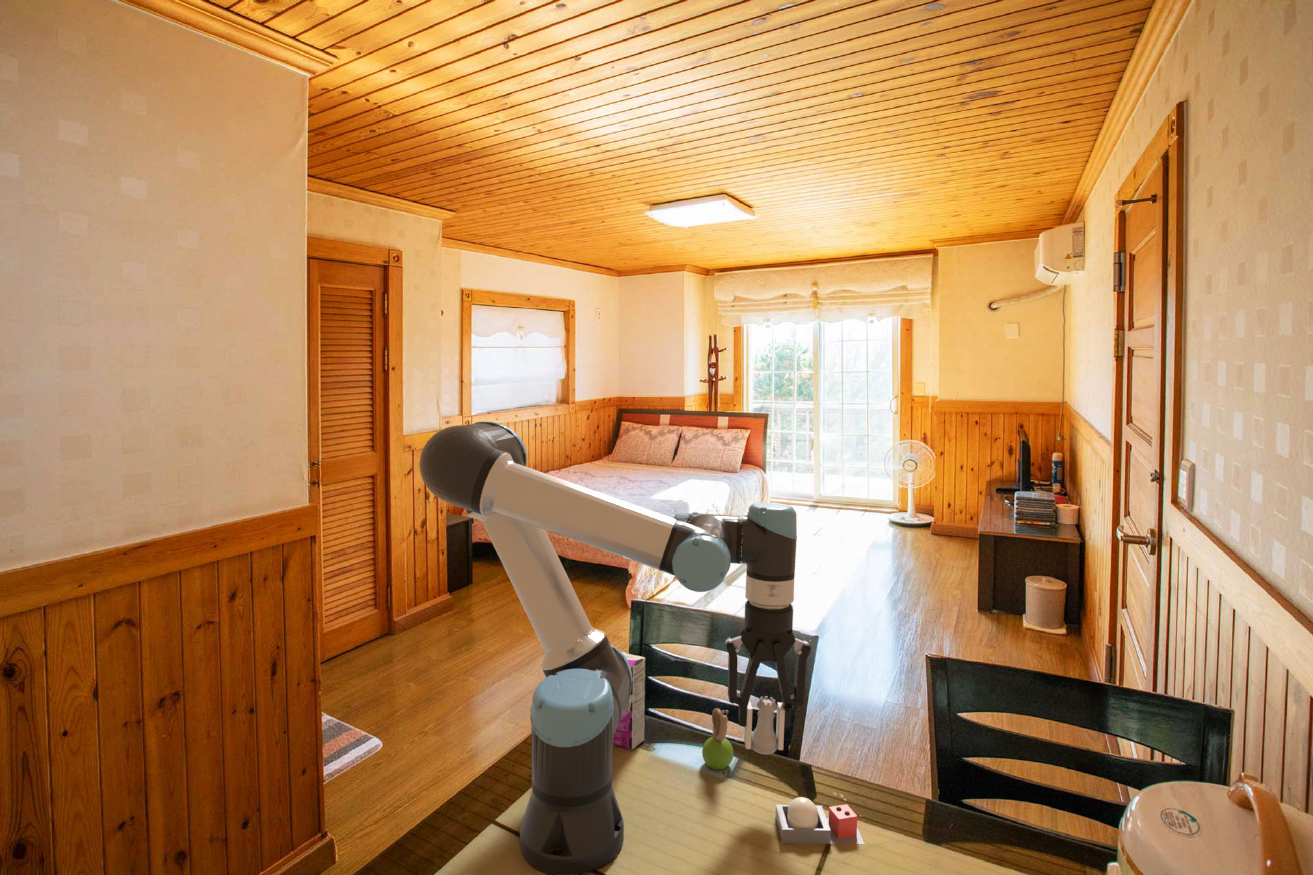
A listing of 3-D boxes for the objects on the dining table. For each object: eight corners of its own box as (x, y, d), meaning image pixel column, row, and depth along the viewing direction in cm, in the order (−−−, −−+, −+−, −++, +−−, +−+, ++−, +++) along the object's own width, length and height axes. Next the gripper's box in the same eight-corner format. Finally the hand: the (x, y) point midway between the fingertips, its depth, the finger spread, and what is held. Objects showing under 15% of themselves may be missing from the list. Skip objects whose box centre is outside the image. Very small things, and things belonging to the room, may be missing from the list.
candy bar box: (581, 736, 131) (582, 652, 130) (597, 725, 135) (597, 644, 134) (631, 752, 125) (632, 665, 124) (645, 740, 129) (646, 655, 128)
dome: (790, 836, 101) (790, 808, 100) (785, 818, 105) (785, 790, 105) (820, 837, 100) (821, 808, 100) (813, 818, 105) (814, 791, 105)
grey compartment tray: (781, 845, 100) (782, 820, 100) (775, 820, 106) (776, 796, 106) (864, 847, 100) (865, 822, 99) (853, 821, 106) (854, 797, 105)
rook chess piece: (776, 757, 107) (781, 708, 107) (748, 752, 108) (752, 703, 107) (777, 743, 112) (782, 695, 111) (750, 738, 112) (754, 691, 112)
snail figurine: (709, 781, 116) (710, 712, 115) (698, 761, 122) (699, 695, 122) (739, 777, 117) (740, 709, 117) (727, 757, 124) (728, 693, 123)
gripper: (715, 607, 104) (710, 755, 106) (830, 611, 104) (823, 759, 106) (712, 592, 112) (707, 731, 114) (819, 596, 112) (813, 735, 113)
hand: (763, 744), depth 110 cm, fingers closed on rook chess piece, 4 cm apart
